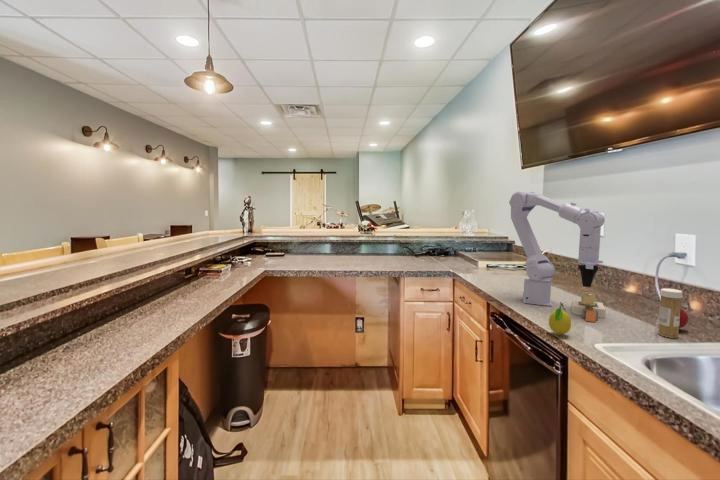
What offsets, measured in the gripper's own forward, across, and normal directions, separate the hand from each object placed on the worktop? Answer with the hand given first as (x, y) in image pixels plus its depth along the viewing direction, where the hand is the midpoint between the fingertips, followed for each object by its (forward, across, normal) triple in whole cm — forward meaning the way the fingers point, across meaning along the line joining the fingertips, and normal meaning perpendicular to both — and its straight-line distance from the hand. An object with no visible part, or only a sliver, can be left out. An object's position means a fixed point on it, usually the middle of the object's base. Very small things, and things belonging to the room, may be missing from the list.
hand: (586, 286), depth 114 cm
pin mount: (+10, -6, -1) cm, 11 cm away
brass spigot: (+10, +2, -1) cm, 10 cm away
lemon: (+10, -26, +8) cm, 29 cm away
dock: (+10, +2, -1) cm, 10 cm away
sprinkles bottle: (+10, -12, -19) cm, 25 cm away
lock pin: (+10, -6, -1) cm, 11 cm away
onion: (+10, -5, -22) cm, 25 cm away
